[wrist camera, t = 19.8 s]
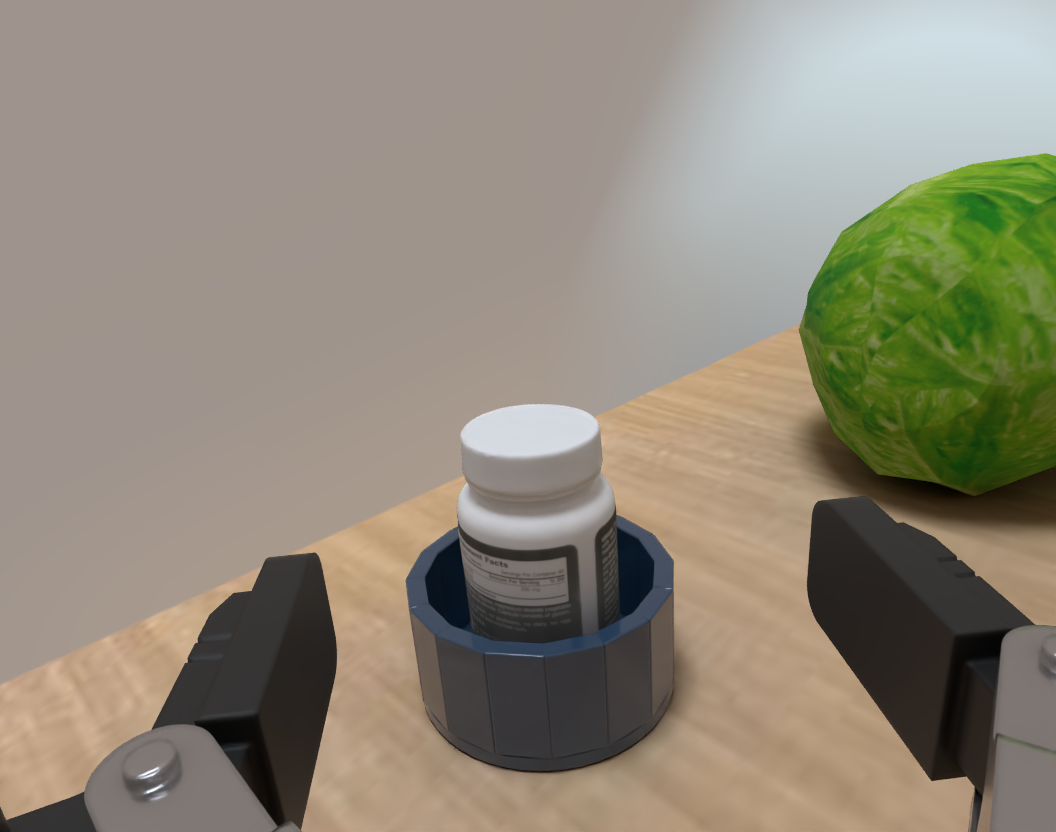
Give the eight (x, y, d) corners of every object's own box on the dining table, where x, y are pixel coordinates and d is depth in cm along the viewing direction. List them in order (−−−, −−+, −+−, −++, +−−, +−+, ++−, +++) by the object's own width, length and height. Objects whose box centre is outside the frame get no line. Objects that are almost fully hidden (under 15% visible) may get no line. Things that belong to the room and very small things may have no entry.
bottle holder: (381, 661, 26) (363, 562, 25) (569, 574, 30) (564, 484, 29) (513, 823, 20) (499, 701, 18) (728, 684, 24) (731, 575, 23)
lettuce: (905, 394, 52) (1172, 493, 41) (695, 415, 38) (1018, 574, 27) (988, 172, 47) (1316, 219, 36) (783, 102, 33) (1219, 144, 22)
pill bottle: (560, 602, 28) (545, 386, 25) (652, 667, 24) (648, 424, 21) (448, 659, 25) (416, 426, 22) (533, 741, 22) (509, 478, 19)
